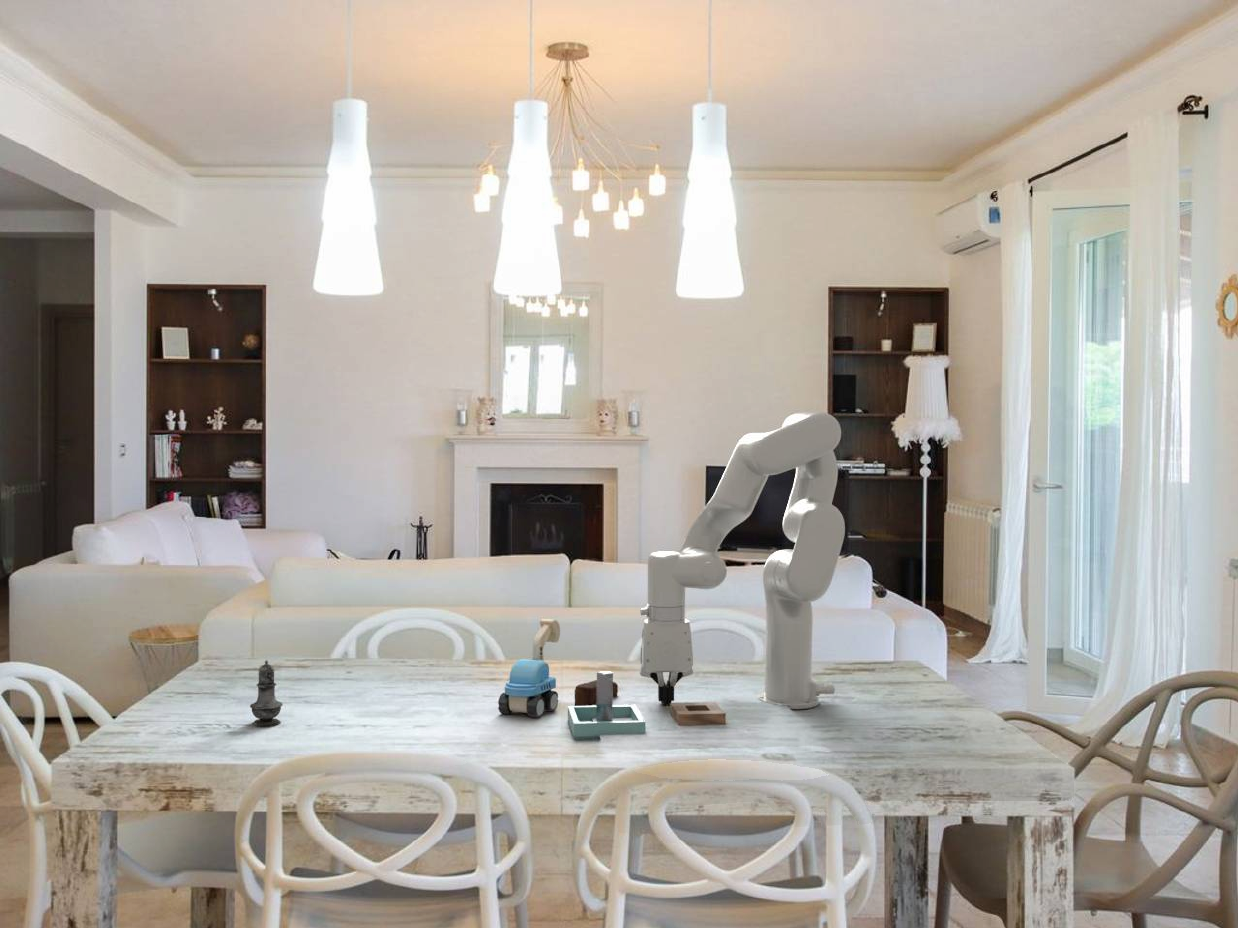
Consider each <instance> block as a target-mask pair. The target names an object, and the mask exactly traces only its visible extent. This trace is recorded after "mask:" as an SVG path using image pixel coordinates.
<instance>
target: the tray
mask: <svg viewBox="0 0 1238 928" xmlns="http://www.w3.org/2000/svg"><path fill="white" fill-rule="evenodd" d="M596 706H597V705H590V706H575V705H567V723H568V727H569V729H570V732H571V735H572V736H571V737H572V739H573V738H574V739H573V740H574V741H577V740H576V739H580V740H579V741H583V740H582V739H586V740H589V741H591V740H592V739H594V740H602V738H601V735H624V734H646V721H645V718H644V717H643V716H642V714H641V712H640V710H639V709H638V707H637V706H636V704H615V705H614V704H613V714H612V718H630V719H631V720H612V721H601V722H596V721H594V719H593V718H595V719H596ZM586 740H585V741H586ZM594 740H593V741H594Z"/></svg>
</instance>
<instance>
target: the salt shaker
mask: <svg viewBox="0 0 1238 928" xmlns="http://www.w3.org/2000/svg"><path fill="white" fill-rule="evenodd" d="M268 663H269V661H268V660H267V659H266V660H265V661H264V664H262V665H261V666H260V667H259V668H258V683H257V684H256V687H257V688H258V690H257V698H256V701H255V702H253V703H251V704H250V705H249V707H250V708H251V712H252V715H253V716H254V717H255V718H257V719H255V720H254V721H252V723H251V726H253V727H256V728H272V727H275V726H280V725H281V724H282V721H281V720H279V719H277V717H278V715H279V714H280V713H281V709H282V706H283V702H281V701H278V700H277V698H276V695H275V686H277V683H276V682H275V668H274V665H273V666H272V665H270V664H268Z"/></svg>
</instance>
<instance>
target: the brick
mask: <svg viewBox="0 0 1238 928" xmlns="http://www.w3.org/2000/svg"><path fill="white" fill-rule="evenodd" d="M618 693H619V686H618V683H617V682H615V681H613V699H614V698H616V697H618ZM595 705H597V679H595V680H592V681H588V682H585V683H580V684H578V685H576V686H575V689H574V706H595Z"/></svg>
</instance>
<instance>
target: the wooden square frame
mask: <svg viewBox="0 0 1238 928" xmlns="http://www.w3.org/2000/svg"><path fill="white" fill-rule="evenodd" d="M669 714H670V716H671V717H672V719H673V720H674V721H675V723H676V724H677V726H696V725H698V726H701V725H703V726H704V725H705V726H709V725H711V726H712V725H726V722H727V721H726V720H727V717H726V716H727V715H726V712H725V711H724V709H723V708H721V707H720V705H719V704H718V703H717V702H716V701H706V702H705V701H704V702H703V701H702V702H700V701H699V702H697V701H696V702H694V701H693V702H671V703H670V706H669Z"/></svg>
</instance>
